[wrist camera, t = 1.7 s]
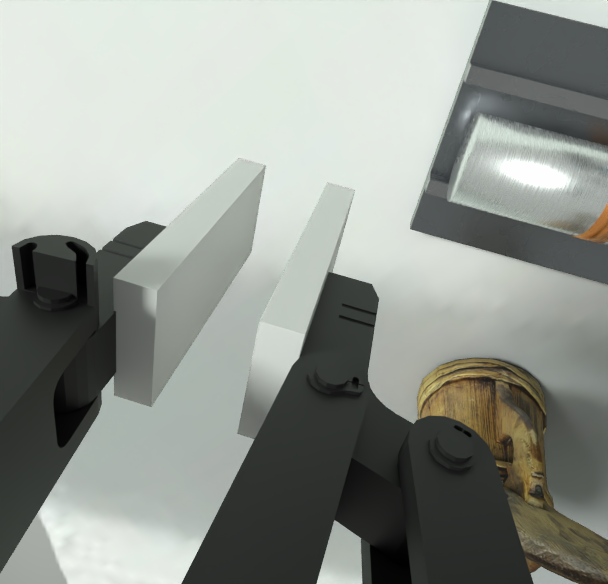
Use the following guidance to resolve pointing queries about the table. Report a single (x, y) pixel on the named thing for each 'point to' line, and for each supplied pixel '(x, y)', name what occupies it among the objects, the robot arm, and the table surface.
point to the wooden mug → (516, 459)
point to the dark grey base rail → (527, 110)
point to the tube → (533, 177)
